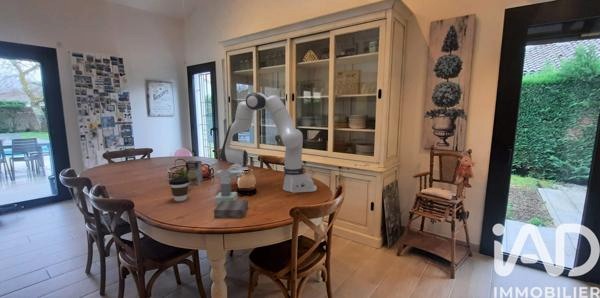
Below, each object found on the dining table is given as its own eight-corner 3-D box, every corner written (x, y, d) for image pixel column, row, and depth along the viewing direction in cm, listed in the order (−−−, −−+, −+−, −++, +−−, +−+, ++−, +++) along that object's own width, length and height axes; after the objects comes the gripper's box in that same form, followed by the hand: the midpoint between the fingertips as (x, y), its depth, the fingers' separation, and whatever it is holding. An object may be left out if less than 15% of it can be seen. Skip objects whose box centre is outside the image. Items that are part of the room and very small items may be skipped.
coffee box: (186, 185, 194) (184, 162, 192) (190, 182, 201) (189, 160, 198) (199, 185, 193) (197, 162, 191) (203, 182, 200) (201, 160, 197)
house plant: (169, 189, 183) (167, 165, 181) (191, 186, 191) (189, 163, 188) (173, 195, 172) (171, 169, 169) (196, 191, 179) (195, 166, 177)
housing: (231, 193, 161) (230, 169, 159) (229, 195, 157) (228, 171, 155) (223, 193, 161) (222, 169, 159) (221, 196, 157) (220, 171, 155)
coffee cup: (184, 195, 171) (183, 176, 169) (194, 199, 164) (192, 179, 162) (167, 200, 163) (165, 180, 161) (176, 204, 156) (174, 183, 154)
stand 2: (248, 207, 150) (247, 200, 149) (243, 217, 136) (242, 209, 136) (222, 207, 150) (221, 200, 149) (214, 217, 136) (214, 210, 135)
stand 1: (237, 198, 165) (237, 192, 164) (233, 204, 155) (233, 197, 154) (220, 198, 165) (220, 192, 164) (215, 204, 155) (215, 197, 154)
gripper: (218, 166, 181) (212, 171, 168) (250, 166, 181) (246, 171, 168) (219, 176, 182) (213, 181, 168) (250, 176, 182) (246, 181, 169)
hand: (230, 176), depth 168 cm, fingers open, 8 cm apart
